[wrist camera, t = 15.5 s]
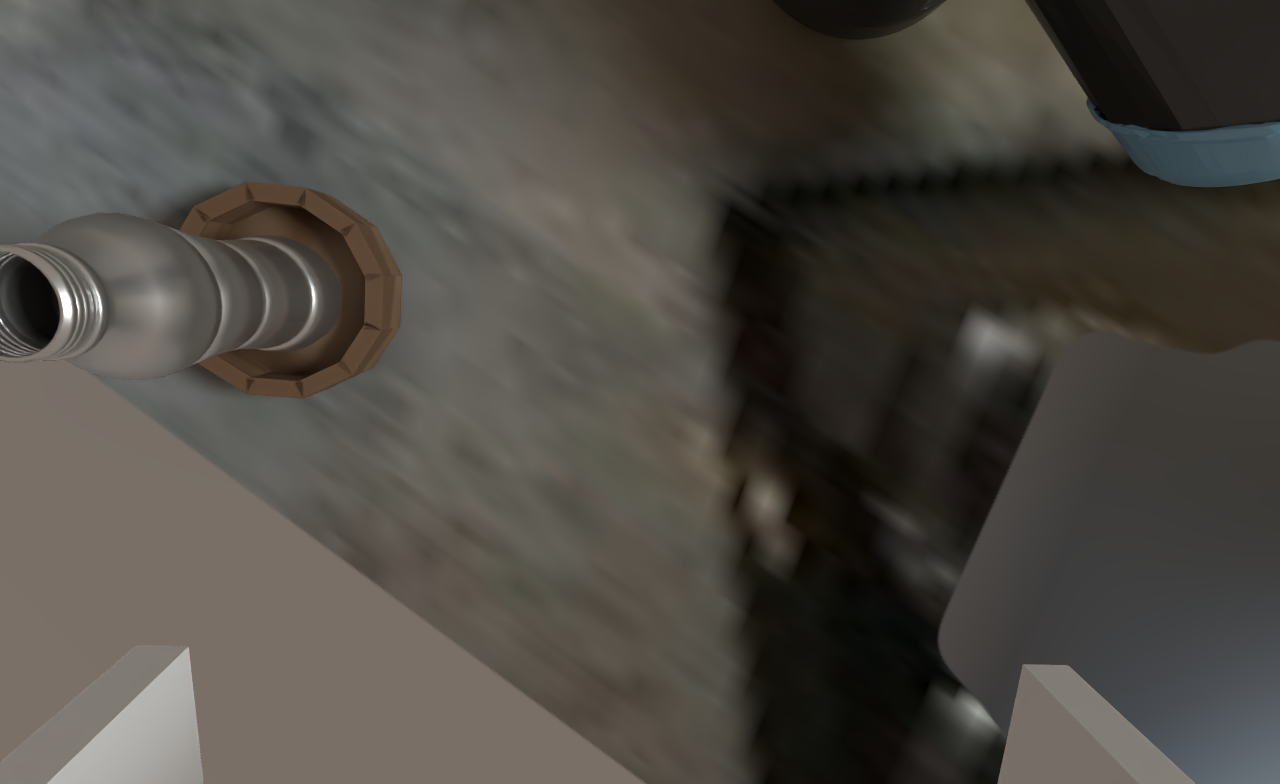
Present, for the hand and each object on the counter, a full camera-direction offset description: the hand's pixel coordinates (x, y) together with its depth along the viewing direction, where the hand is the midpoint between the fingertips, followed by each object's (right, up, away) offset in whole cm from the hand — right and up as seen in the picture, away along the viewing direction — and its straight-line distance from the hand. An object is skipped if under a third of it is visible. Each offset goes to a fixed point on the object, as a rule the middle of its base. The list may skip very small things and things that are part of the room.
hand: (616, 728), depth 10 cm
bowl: (-21, +12, +30) cm, 39 cm away
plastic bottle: (-21, +11, +30) cm, 38 cm away
